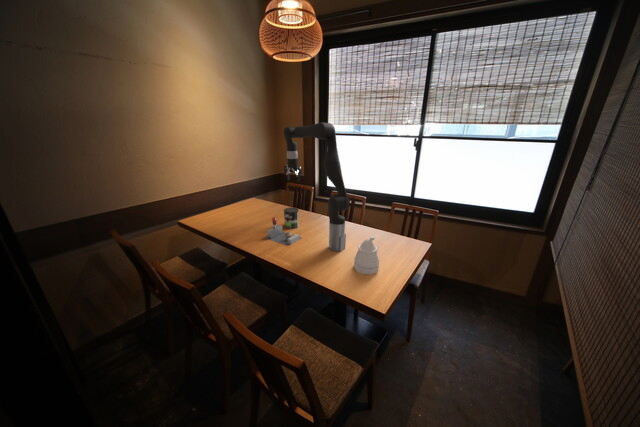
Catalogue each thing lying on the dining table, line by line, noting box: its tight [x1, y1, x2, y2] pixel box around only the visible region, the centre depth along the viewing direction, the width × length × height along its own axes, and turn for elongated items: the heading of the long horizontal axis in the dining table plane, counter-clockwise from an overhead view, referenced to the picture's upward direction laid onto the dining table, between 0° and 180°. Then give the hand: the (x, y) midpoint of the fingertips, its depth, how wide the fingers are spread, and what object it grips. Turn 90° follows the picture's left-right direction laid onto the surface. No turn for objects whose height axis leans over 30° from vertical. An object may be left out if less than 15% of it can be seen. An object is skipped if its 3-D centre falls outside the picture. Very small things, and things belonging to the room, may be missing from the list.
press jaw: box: [266, 217, 284, 238], centre depth 163 cm, size 3×11×12 cm, turn 146°
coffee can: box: [283, 206, 300, 230], centre depth 178 cm, size 10×10×14 cm
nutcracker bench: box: [263, 231, 302, 247], centre depth 162 cm, size 21×14×4 cm, turn 56°
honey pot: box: [353, 235, 380, 275], centre depth 129 cm, size 13×13×18 cm
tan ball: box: [285, 231, 293, 238], centre depth 158 cm, size 4×4×4 cm
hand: (293, 180), depth 176 cm, fingers open, 8 cm apart
